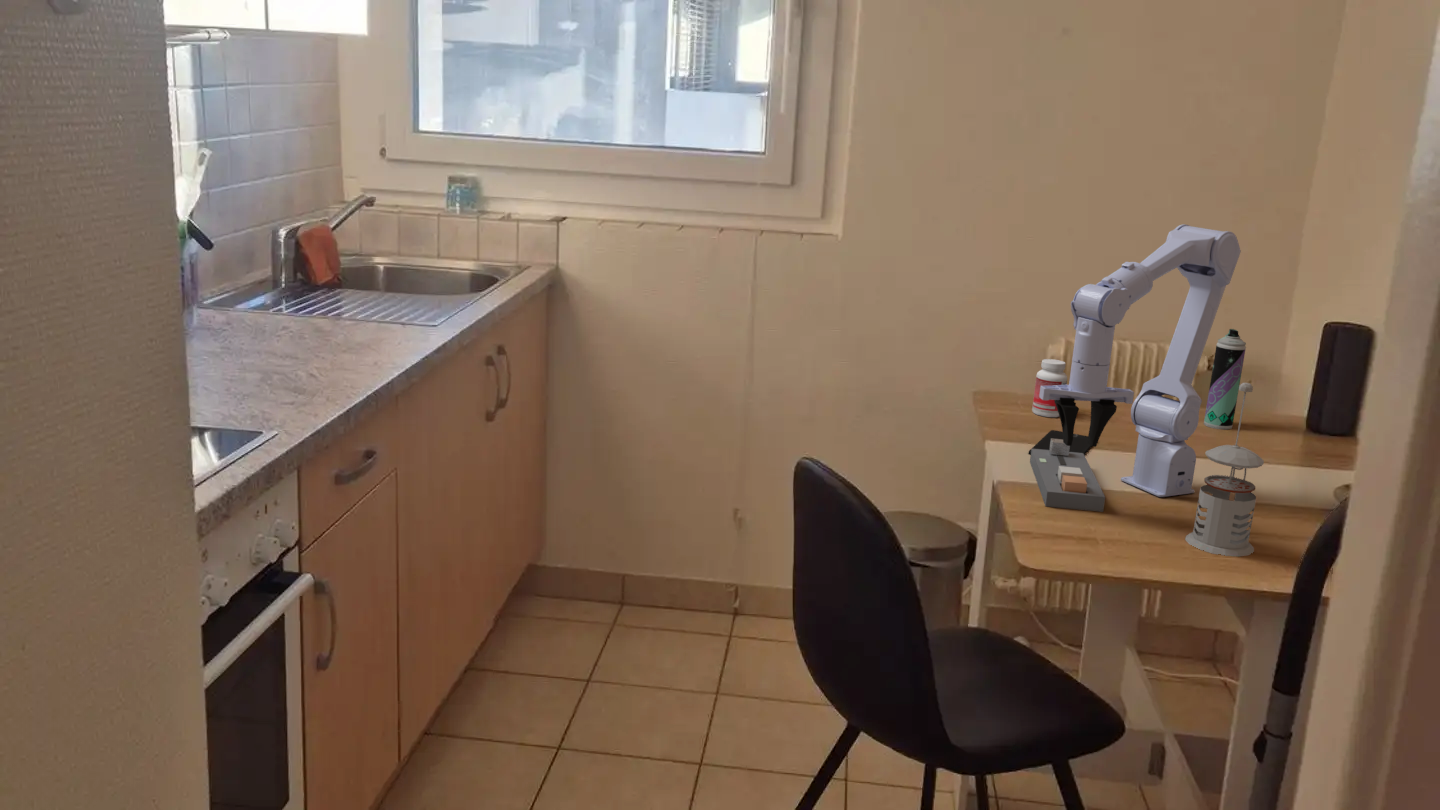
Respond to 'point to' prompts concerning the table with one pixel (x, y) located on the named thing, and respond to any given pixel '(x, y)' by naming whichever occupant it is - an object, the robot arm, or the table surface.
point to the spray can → (1225, 381)
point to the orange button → (1074, 484)
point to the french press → (1227, 501)
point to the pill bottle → (1048, 377)
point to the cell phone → (1078, 442)
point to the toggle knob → (1059, 447)
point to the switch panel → (1050, 487)
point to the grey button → (1068, 472)
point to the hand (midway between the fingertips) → (1079, 444)
